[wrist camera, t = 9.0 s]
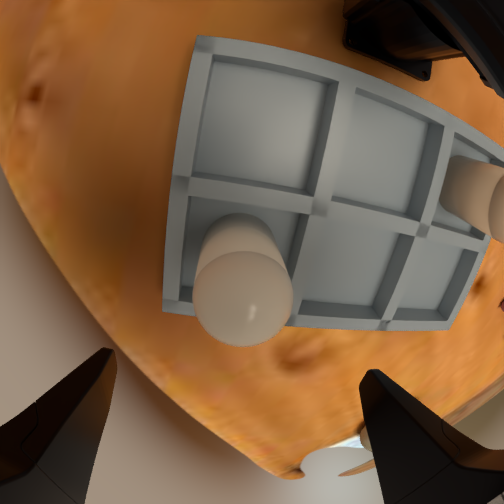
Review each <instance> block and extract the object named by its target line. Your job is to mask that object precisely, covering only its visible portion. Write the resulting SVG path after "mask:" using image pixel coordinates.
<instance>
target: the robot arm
mask: <svg viewBox="0 0 504 504" xmlns="http://www.w3.org/2000/svg"><path fill="white" fill-rule="evenodd" d="M343 16H344V18H345V19H346V25H345V31H344V37H343V44H344V46H345V47H346V48H347V49H349V50H352V51H354V52H357V53H360V54H362V55H365V56H367V57H370V58H372V59H375V60H377V61H380V62H382V63H384V64H387V65H389V66H391V67H393V68H396V69H398V70H400V71H402V72H404V73H406V74H408V75H410V76H412V77H414V78H416V79H418V80H420V81H428V80H429V79H430V76H431V67H432V61H438V60H444V59H451V58H458V57H465V56H466V58H467V59H468V60H469V61H470V63H471V64H472V65H473V67H474V68H475V69H476V71H477V72H478V73H479V75H480V79H481V80H482V82H483V83H484V85H485V86H487V87H490V88H492V89H494V90H495V92H496V93H497V95H499V96H500V97H502V98H503V99H504V0H345V2H344V9H343ZM349 40H352V41H353V42H354V45H351V44H350V43H349ZM422 72H423V73H424V77H423V75H422ZM116 374H117V362H116V356H115V351H114V350H113V349H109V348H105V347H103V348H101V349H100V350H98V351H97V352H96V353H95V354H93V355H92V356H91V357H90V358H88V359H87V360H86V361H84V362H83V363H82V364H81V365H79V366H78V367H77V368H76V369H74V370H73V371H72V372H71V373H69V374H68V375H67V376H66V377H65V378H63V379H62V380H61V381H60V382H58V383H57V384H56V385H55V386H53V387H52V388H51V389H50V390H48V391H47V392H46V393H45V394H43V395H42V396H41V397H40V398H39V399H37V400H36V403H35V402H34V403H33V404H31V405H30V406H29V407H28V408H26V409H25V410H24V411H22V412H21V413H20V414H19V415H17V416H16V417H14V418H13V419H11V420H10V421H8V422H7V423H5V424H4V425H2V426H0V504H84V503H85V499H86V494H87V489H88V485H89V481H90V477H91V473H92V469H93V465H94V461H95V458H96V454H97V450H98V447H99V443H100V440H101V436H102V433H103V429H104V426H105V423H106V419H107V416H108V413H109V409H110V404H111V399H112V394H113V389H114V383H115V379H116ZM359 392H360V398H361V404H362V410H363V417H364V422H365V426H366V430H367V434H368V437H369V441H370V445H371V449H372V453H373V457H374V461H375V465H376V469H377V473H378V477H379V482H380V486H381V490H382V495H383V500H384V504H504V450H492V449H487V448H485V447H483V446H481V445H480V444H478V443H477V442H475V441H473V440H472V439H470V438H469V437H467V436H465V435H464V434H462V433H461V432H459V431H458V430H456V429H455V428H454V427H452V426H451V425H449V424H448V423H447V422H445V421H444V420H443V419H441V418H440V417H439V416H438V415H436V414H435V413H434V412H433V411H431V410H430V409H429V408H427V407H426V406H425V405H424V404H422V403H421V402H420V401H418V400H417V399H416V398H415V397H413V396H412V395H411V394H409V393H408V392H407V391H406V390H404V389H403V388H402V387H401V386H399V385H398V384H397V383H395V382H394V381H393V380H392V379H390V378H389V377H388V376H387V375H385V374H384V373H383V372H382V371H380V370H379V369H370V370H368V371H367V372H366V374H365V376H364V377H363V379H362V381H361V382H360V385H359Z"/></svg>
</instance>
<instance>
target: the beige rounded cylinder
mask: <svg viewBox="0 0 504 504" xmlns="http://www.w3.org/2000/svg"><path fill="white" fill-rule="evenodd" d="M439 202H440V204H441V206H442V207H443V209H444V210H446V211H447V212H449V213H450V214H452V215H454V216H456V217H458V218H460V219H461V220H463V221H465V222H467V223H468V224H470V225H472V226H474V227H475V228H477V229H479V230H480V231H482V232H484V233H485V234H487V235H489V236H490V237H492V238H493V239H495V240H497V241H499V242H501V243H504V168H502V167H499V166H496V165H493V164H489V163H486V162H483V161H480V160H476V159H473V158H469V157H465V156H462V155H456V156H453V157H451V158H449V162H448V166H447V170H446V174H445V178H444V182H443V185H442V189H441V193H440V196H439Z"/></svg>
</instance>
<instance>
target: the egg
mask: <svg viewBox="0 0 504 504" xmlns="http://www.w3.org/2000/svg"><path fill="white" fill-rule="evenodd" d="M192 300H193V307H194V311H195V314H196V316H197V319H198V321H199V323H200V324H201V325H202V327H203V328H204V329H205V330H206V332H207V333H208V334H210V335H211V336H212V337H213V338H215V339H216V340H218V341H220V342H222V343H224V344H227V345H231V346H236V347H251V346H256V345H259V344H262V343H264V342H266V341H268V340H270V339H271V338H273V337H274V336H275V335H277V334H278V333H279V332H280V331H281V329H282V328H283V327H284V326H285V324H286V322H287V321H288V319H289V317H290V314H291V311H292V307H293V287H292V283H291V280H290V277H289V274H288V272H287V269H286V267H285V264H284V261H283V259H282V256H281V253H280V251H279V248H278V246H277V243H276V241H275V238H274V235H273V233H272V231H271V229H270V228H269V227H268V225H267V224H266V223H265V222H264V221H262V220H261V219H259V218H258V217H256V216H253V215H250V214H246V213H232V214H228V215H225V216H223V217H220V218H219V219H217V220H216V221H214V222H213V223H212V224H211V225H210V226H209V228H208V229H207V230H206V232H205V234H204V237H203V240H202V245H201V250H200V255H199V260H198V265H197V270H196V276H195V281H194V286H193V295H192Z"/></svg>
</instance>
